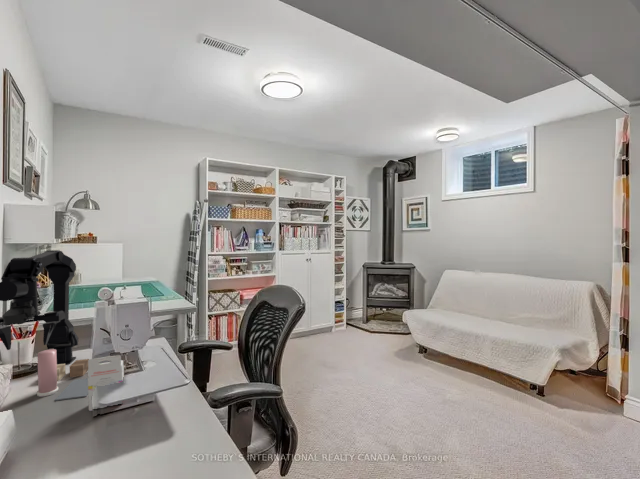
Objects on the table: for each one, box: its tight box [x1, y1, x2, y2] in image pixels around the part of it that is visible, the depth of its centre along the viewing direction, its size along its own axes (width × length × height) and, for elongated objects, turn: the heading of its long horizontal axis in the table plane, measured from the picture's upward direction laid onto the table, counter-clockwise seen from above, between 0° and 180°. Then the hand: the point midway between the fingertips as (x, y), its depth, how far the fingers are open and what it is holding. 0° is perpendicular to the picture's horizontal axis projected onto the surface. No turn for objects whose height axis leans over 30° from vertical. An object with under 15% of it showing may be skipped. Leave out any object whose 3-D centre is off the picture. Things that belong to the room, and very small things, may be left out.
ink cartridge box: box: [87, 354, 125, 412], centre depth 97 cm, size 9×5×15 cm, turn 115°
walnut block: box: [69, 358, 90, 378], centre depth 119 cm, size 6×4×4 cm, turn 18°
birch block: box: [57, 364, 66, 381], centre depth 115 cm, size 5×5×4 cm
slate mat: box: [54, 377, 88, 402], centre depth 107 cm, size 14×8×1 cm, turn 18°
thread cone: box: [36, 348, 59, 398], centre depth 104 cm, size 5×5×13 cm
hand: (27, 347), depth 104 cm, fingers open, 9 cm apart
